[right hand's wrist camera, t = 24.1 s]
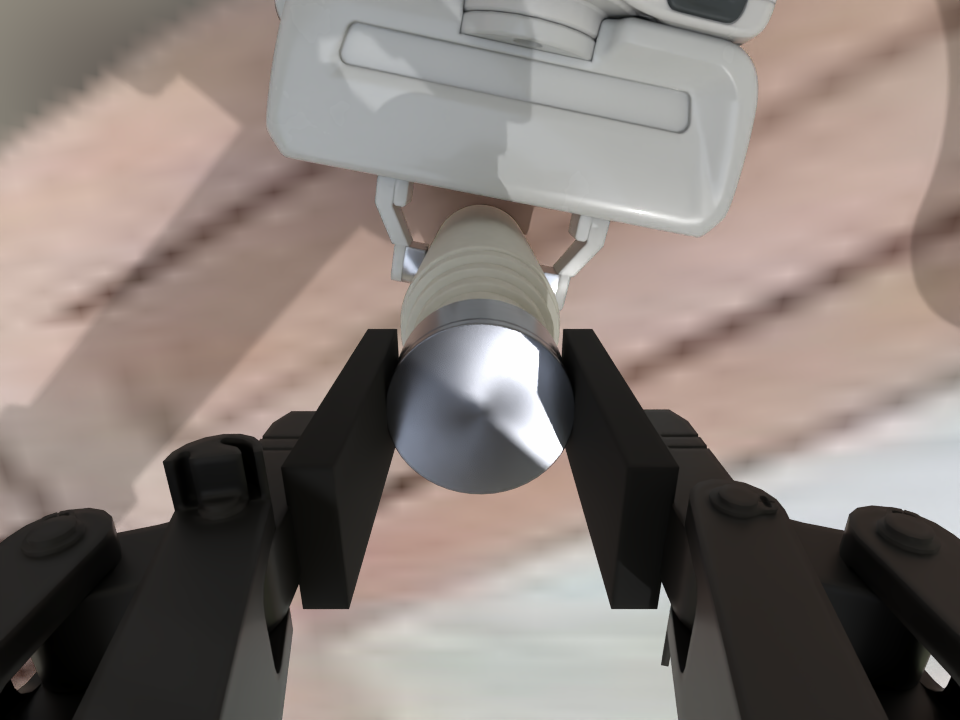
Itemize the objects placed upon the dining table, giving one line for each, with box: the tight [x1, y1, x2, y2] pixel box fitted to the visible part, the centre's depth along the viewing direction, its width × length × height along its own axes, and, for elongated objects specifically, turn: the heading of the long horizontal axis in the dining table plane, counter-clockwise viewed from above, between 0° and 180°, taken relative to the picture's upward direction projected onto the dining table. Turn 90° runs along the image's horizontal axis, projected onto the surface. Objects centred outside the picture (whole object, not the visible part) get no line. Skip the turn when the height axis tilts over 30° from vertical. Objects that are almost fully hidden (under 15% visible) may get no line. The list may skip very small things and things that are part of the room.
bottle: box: [401, 205, 560, 347], centre depth 23 cm, size 6×6×20 cm
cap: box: [386, 299, 575, 494], centre depth 13 cm, size 4×4×2 cm
